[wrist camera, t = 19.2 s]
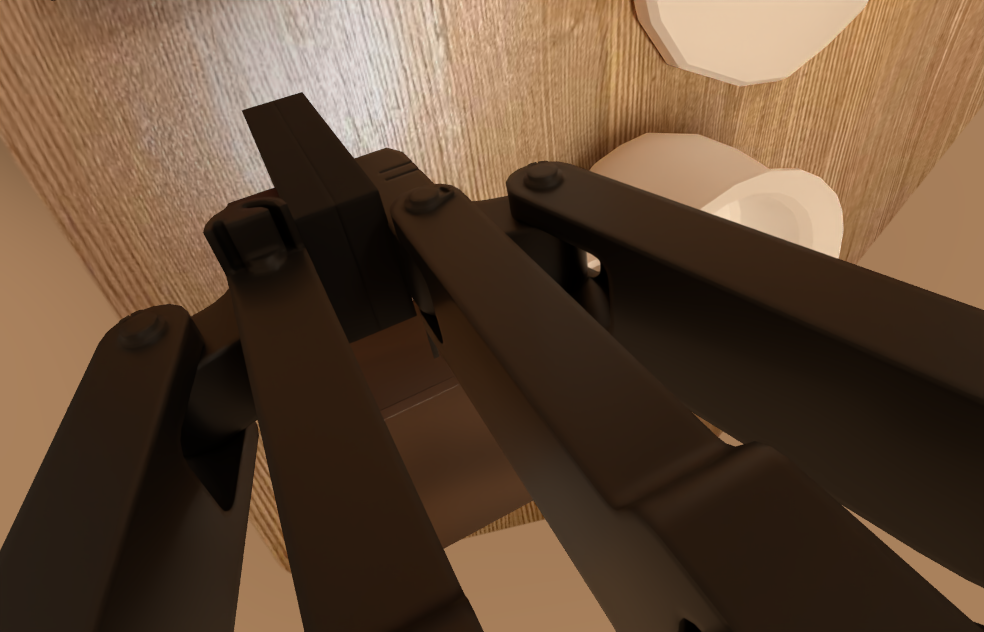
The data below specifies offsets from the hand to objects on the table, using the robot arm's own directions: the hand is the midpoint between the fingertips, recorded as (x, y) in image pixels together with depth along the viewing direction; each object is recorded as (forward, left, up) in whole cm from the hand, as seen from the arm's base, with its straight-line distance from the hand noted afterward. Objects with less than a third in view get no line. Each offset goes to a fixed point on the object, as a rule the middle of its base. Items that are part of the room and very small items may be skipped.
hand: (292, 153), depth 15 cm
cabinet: (+3, -27, -19) cm, 34 cm away
